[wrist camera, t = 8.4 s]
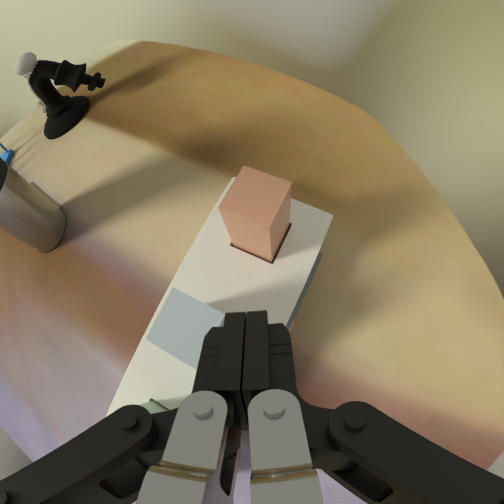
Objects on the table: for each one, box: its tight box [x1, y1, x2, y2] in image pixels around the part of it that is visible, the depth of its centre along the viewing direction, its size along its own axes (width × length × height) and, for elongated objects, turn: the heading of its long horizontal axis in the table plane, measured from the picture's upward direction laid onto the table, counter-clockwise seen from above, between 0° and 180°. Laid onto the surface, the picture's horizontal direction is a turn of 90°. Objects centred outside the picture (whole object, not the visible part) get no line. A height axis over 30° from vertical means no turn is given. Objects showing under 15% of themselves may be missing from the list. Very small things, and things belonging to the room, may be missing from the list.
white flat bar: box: [106, 177, 334, 417], centre depth 33 cm, size 38×15×6 cm, turn 154°
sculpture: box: [15, 52, 106, 139], centre depth 45 cm, size 15×24×25 cm, turn 96°
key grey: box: [146, 287, 225, 370], centre depth 26 cm, size 5×5×10 cm
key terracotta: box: [218, 166, 292, 264], centre depth 30 cm, size 5×5×10 cm
